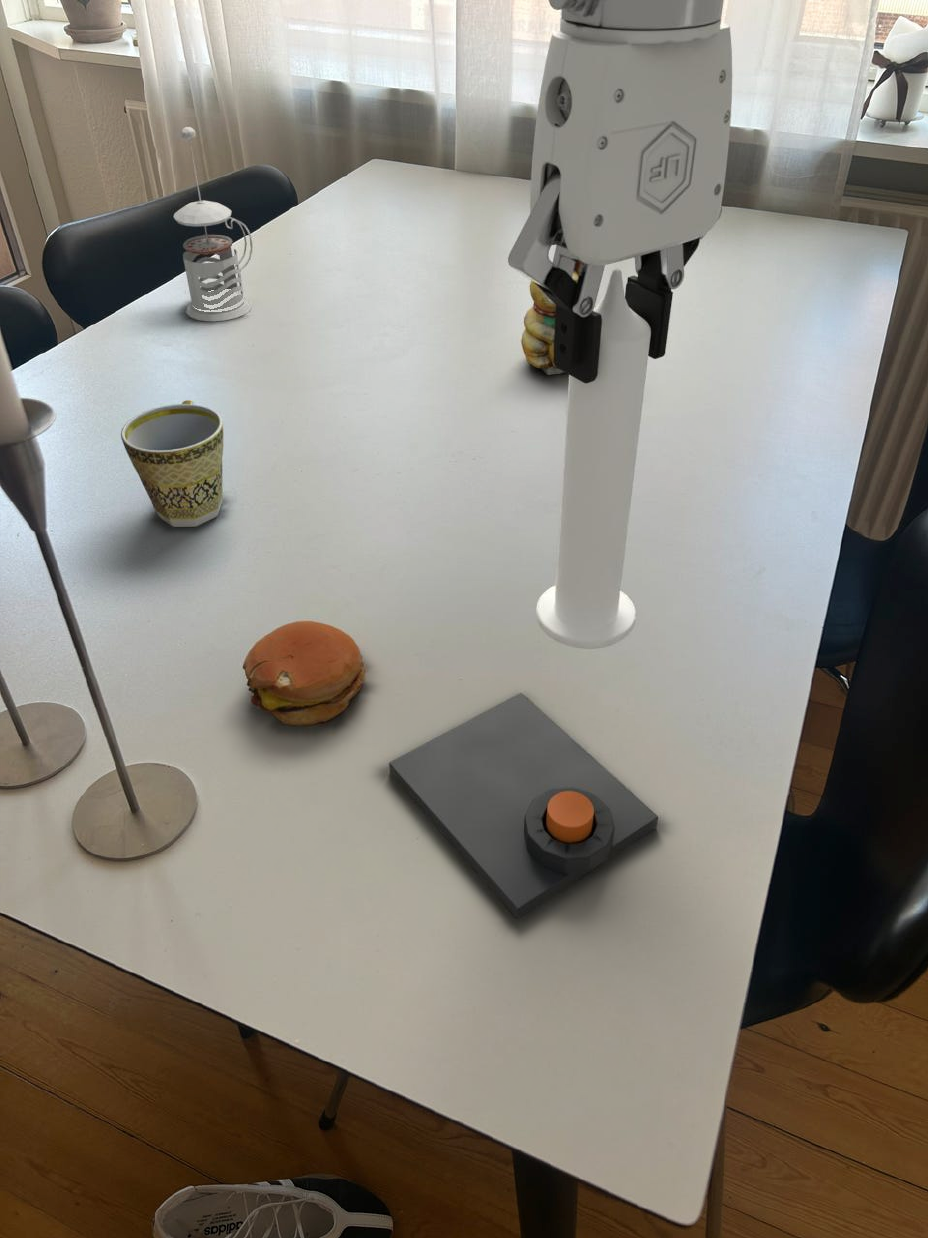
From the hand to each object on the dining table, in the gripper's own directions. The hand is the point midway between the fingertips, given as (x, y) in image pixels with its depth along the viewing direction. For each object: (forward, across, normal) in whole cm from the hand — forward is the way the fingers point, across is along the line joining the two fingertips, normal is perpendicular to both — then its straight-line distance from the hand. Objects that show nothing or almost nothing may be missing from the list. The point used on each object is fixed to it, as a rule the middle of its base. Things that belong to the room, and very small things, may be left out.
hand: (609, 358), depth 56 cm
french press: (+32, +14, +99) cm, 105 cm away
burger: (+33, -15, +18) cm, 40 cm away
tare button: (+30, -7, -8) cm, 32 cm away
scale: (+32, -7, -2) cm, 33 cm away
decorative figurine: (+33, +42, +54) cm, 76 cm away
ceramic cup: (+32, -11, +51) cm, 61 cm away
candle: (+20, 0, 0) cm, 20 cm away
